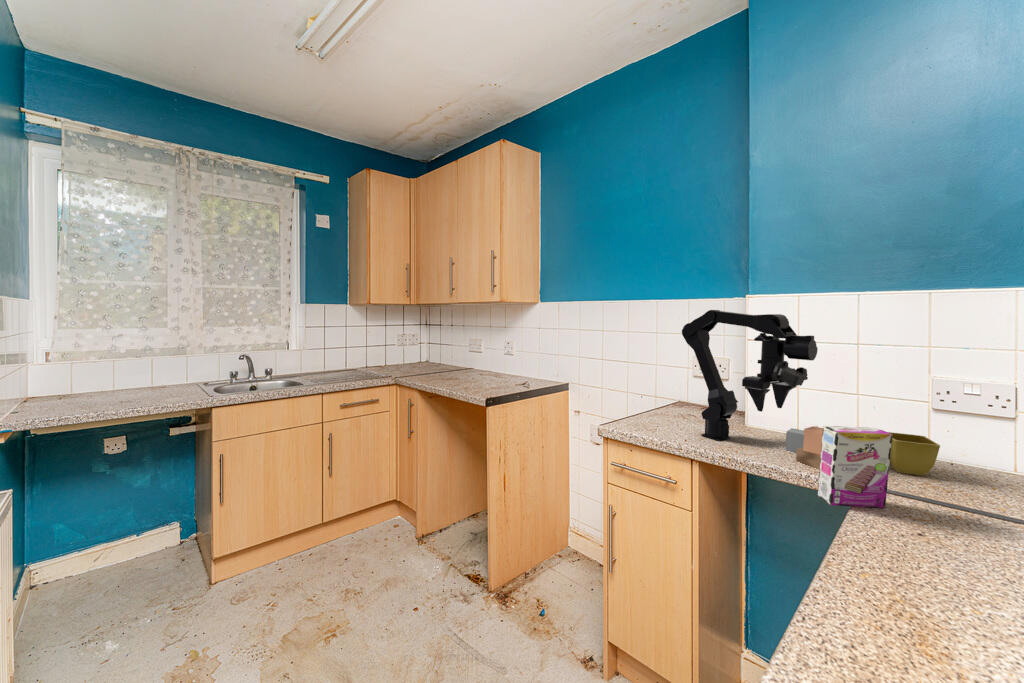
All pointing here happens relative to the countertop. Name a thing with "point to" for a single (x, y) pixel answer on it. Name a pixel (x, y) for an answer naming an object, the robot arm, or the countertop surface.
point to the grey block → (794, 439)
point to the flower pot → (912, 453)
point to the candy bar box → (854, 466)
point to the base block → (808, 458)
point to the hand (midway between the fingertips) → (769, 409)
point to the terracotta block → (813, 439)
